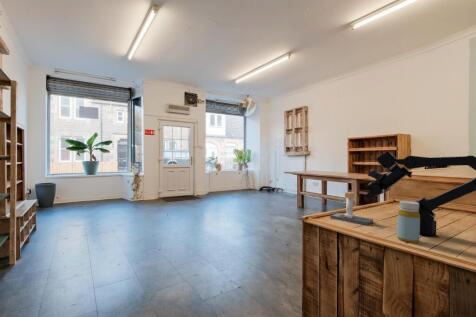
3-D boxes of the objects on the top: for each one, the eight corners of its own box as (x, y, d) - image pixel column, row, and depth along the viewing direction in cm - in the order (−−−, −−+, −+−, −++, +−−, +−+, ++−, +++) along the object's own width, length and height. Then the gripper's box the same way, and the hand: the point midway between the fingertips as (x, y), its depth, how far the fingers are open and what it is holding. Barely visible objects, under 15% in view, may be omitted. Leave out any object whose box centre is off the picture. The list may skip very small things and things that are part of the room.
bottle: (423, 244, 89) (424, 204, 89) (402, 242, 91) (403, 203, 91) (413, 238, 96) (414, 201, 96) (394, 236, 98) (395, 200, 98)
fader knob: (355, 216, 123) (355, 192, 123) (351, 218, 120) (352, 193, 120) (346, 215, 126) (347, 191, 126) (343, 216, 122) (344, 192, 122)
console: (373, 222, 119) (373, 219, 119) (368, 225, 113) (368, 222, 113) (336, 215, 132) (336, 212, 132) (330, 218, 125) (330, 215, 125)
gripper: (384, 163, 121) (359, 183, 128) (374, 163, 107) (347, 186, 115) (402, 180, 115) (375, 200, 123) (394, 183, 102) (365, 205, 109)
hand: (366, 197), depth 118 cm, fingers closed
